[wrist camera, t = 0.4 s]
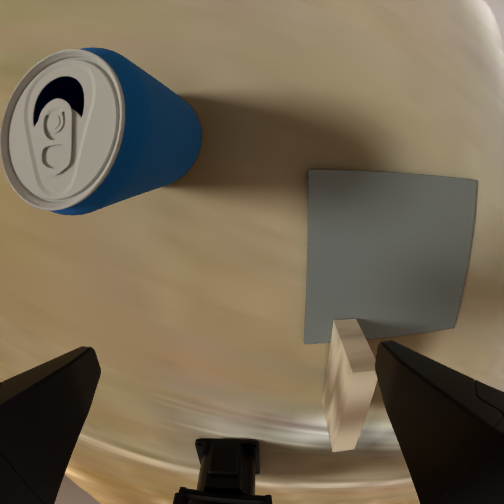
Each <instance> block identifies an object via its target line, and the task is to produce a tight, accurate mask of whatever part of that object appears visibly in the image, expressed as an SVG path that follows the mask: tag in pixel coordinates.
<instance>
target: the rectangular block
mask: <svg viewBox="0 0 504 504" xmlns="http://www.w3.org/2000/svg"><path fill="white" fill-rule="evenodd" d="M375 361H376V359H375V357H374V355H373V353H372V351H371V349H370V347H369V344H368V342H367V340H366V338H365V336H364V334H363V332H362V330H361V328H360V326H359V324H358V322H357V320H356V319H345V320H333V328H332V336H331V344H330V352H329V359H328V366H327V373H326V379H325V386H324V392H323V398H322V403H323V408H324V413H325V418H326V422H327V427H328V432H329V437H330V442H331V447H332V452H339V451H346V450H353V449H355V446H356V443H357V441H358V438H359V435H360V433H361V430H362V427H363V424H364V421H365V418H366V415H367V412H368V409H369V406H370V403H371V400H372V397H373V393H374V390H375V387H376V383H377V380H378V379H377V375H376V372H375Z"/></svg>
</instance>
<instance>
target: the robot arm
mask: <svg viewBox="0 0 504 504" xmlns="http://www.w3.org/2000/svg"><path fill="white" fill-rule="evenodd" d="M375 372H376V375H377V379H378V383H379V386H380V390H381V394H382V397H383V401H384V405H385V408H386V411H387V414H388V417H389V419H390V422H391V424H392V427H393V429H394V432H395V434H396V437H397V440H398V442H399V445H400V448H401V450H402V453H403V456H404V458H405V461H406V464H407V467H408V469H409V472H410V475H411V478H412V481H413V484H414V486H415V489H416V492H417V495H418V498H419V501H420V504H504V392H502V391H500V390H497V389H495V388H493V387H490V386H488V385H486V384H483V383H481V382H479V381H477V380H475V381H474V379H473V378H470V377H468V376H466V375H464V374H462V373H460V372H457V371H455V370H453V369H451V368H449V367H447V366H445V365H443V364H440V363H438V362H436V361H434V360H432V359H430V358H428V357H426V356H424V355H421V354H419V353H417V352H415V351H413V350H411V349H409V348H407V347H405V346H403V345H401V344H399V343H396V342H394V341H392V340H390V341H383V342H380V343H379V345H378V349H377V355H376V361H375ZM100 374H101V368H100V365H99V362H98V359H97V356H96V353H95V350H94V349H93V348H92V347H84V346H82V347H79V348H77V349H75V350H73V351H70V352H68V353H66V354H64V355H62V356H59V357H57V358H55V359H53V360H50V361H48V362H46V363H44V364H41V365H39V366H37V367H35V368H32V369H30V370H28V371H25V372H23V373H21V374H19V375H16V376H14V377H12V378H9V379H7V380H5V381H3V383H2V382H0V504H54V503H55V500H56V497H57V494H58V491H59V488H60V485H61V482H62V479H63V476H64V474H65V471H66V468H67V466H68V463H69V460H70V457H71V455H72V452H73V450H74V447H75V445H76V442H77V439H78V437H79V434H80V432H81V430H82V427H83V425H84V422H85V420H86V417H87V415H88V412H89V410H90V407H91V404H92V400H93V397H94V394H95V390H96V387H97V384H98V381H99V378H100ZM195 446H196V449H197V453H198V457H199V460H200V464H201V467H200V473H199V479H198V485H197V490H193V489H187V488H185V487H180V490H179V493H178V492H177V493H175V496H174V501H173V504H272V497H271V495H265V496H260V495H255V474H259V473H260V466H259V442H258V441H240V440H209V439H197V440H196V442H195Z"/></svg>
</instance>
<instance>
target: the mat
mask: <svg viewBox="0 0 504 504" xmlns="http://www.w3.org/2000/svg"><path fill="white" fill-rule="evenodd" d="M476 191H477V180H472V179H464V178H455V177H445V176H434V175H423V174H410V173H395V172H376V171H352V170H308V249H307V285H306V309H305V329H304V344H317V343H331V336H332V328H333V320H345V319H356V320H357V322H358V324H359V326H360V328H361V330H362V332H363V334H364V336H365V338H366V340H368V339H377V338H387V337H395V336H403V335H411V334H418V333H426V332H432V331H439V330H445V329H451V328H454V326H455V322H456V318H457V314H458V310H459V306H460V302H461V297H462V293H463V288H464V283H465V278H466V273H467V267H468V262H469V256H470V249H471V242H472V234H473V226H474V217H475V205H476Z"/></svg>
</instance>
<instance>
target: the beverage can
mask: <svg viewBox="0 0 504 504" xmlns="http://www.w3.org/2000/svg"><path fill="white" fill-rule="evenodd" d="M201 138H202V136H201V126H200V122H199V119H198V117H197V115H196V113H195V111H194V110H193V108H192V107H191V106H190V105H189V104H188V103H187V102H186V101H185V100H183V99H182V98H181V97H179V96H178V95H177V94H175V93H174V92H173V91H171V90H170V89H169V88H167V87H166V86H165V85H163V84H162V83H160V82H159V81H158V80H156V79H155V78H153V77H152V76H151V75H149V74H148V73H146V72H145V71H144V70H142V69H141V68H139V67H138V66H136V65H135V64H134V63H132V62H131V61H129V60H128V59H126V58H125V57H123V56H122V55H120V54H118V53H116V52H114V51H111V50H108V49H103V48H83V49H68V50H63V51H58V52H56V53H53V54H51V55H49V56H47V57H45V58H44V59H42V60H41V61H39V62H38V63H37V64H35V65H34V66H33V67H32V68H31V69H30V70H29V71H28V72H27V73H26V74H25V75H24V76H23V77H22V79H21V80H20V82H19V83H18V84H17V86H16V88H15V89H14V91H13V93H12V95H11V97H10V99H9V101H8V104H7V106H6V109H5V112H4V116H3V120H2V125H1V131H0V153H1V160H2V164H3V168H4V171H5V174H6V177H7V179H8V181H9V183H10V185H11V186H12V188H13V189H14V191H15V192H16V193H17V194H18V196H19V197H21V198H22V199H23V200H24V201H25V202H27V203H28V204H30V205H31V206H34V207H36V208H38V209H43V210H50V211H52V212H54V213H58V214H62V215H82V214H86V213H90V212H93V211H95V210H98V209H101V208H103V207H106V206H109V205H111V204H114V203H117V202H119V201H122V200H125V199H128V198H131V197H133V196H136V195H139V194H142V193H145V192H148V191H151V190H154V189H157V188H160V187H163V186H166V185H168V184H171V183H173V182H175V181H177V180H178V179H180V178H181V177H182V176H183V175H184V174H186V173H187V172H188V170H189V169H190V168H191V167H192V165H193V164H194V162H195V160H196V158H197V156H198V153H199V150H200V146H201Z"/></svg>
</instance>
